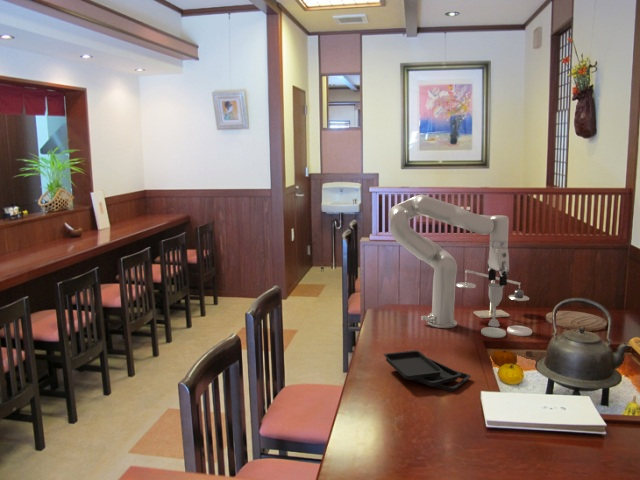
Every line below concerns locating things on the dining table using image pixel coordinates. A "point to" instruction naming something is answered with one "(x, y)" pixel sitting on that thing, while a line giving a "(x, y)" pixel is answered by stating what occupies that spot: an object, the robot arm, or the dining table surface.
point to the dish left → (493, 332)
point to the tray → (424, 369)
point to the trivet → (577, 320)
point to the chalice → (495, 301)
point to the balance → (489, 313)
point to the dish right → (519, 330)
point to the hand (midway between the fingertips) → (497, 282)
